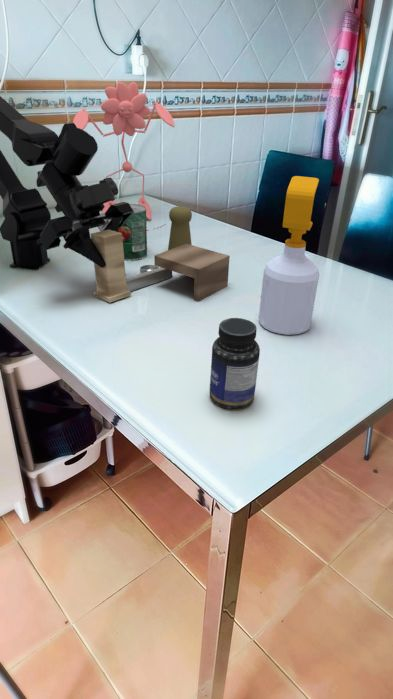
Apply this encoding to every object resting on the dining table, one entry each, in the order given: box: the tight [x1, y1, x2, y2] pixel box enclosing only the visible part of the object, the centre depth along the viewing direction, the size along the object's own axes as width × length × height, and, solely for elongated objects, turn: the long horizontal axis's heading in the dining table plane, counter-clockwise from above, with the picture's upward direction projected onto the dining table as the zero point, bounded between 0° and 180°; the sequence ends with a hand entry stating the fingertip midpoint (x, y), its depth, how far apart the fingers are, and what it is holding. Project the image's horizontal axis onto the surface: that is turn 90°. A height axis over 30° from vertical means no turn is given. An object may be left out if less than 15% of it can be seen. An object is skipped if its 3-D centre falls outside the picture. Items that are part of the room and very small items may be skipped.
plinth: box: [154, 244, 231, 302], centre depth 95 cm, size 11×10×6 cm
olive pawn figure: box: [167, 205, 193, 251], centre depth 111 cm, size 6×6×11 cm
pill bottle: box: [209, 317, 261, 411], centre depth 62 cm, size 6×6×11 cm
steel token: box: [139, 264, 160, 274], centre depth 101 cm, size 4×4×2 cm
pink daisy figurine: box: [72, 81, 176, 230], centre depth 124 cm, size 15×26×35 cm, turn 110°
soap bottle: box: [258, 175, 320, 336], centre depth 78 cm, size 9×9×25 cm
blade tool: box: [90, 230, 173, 304], centre depth 93 cm, size 5×18×12 cm, turn 136°
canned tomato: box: [119, 203, 148, 261], centre depth 109 cm, size 8×8×11 cm
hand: (113, 263), depth 88 cm, fingers closed on blade tool, 4 cm apart
